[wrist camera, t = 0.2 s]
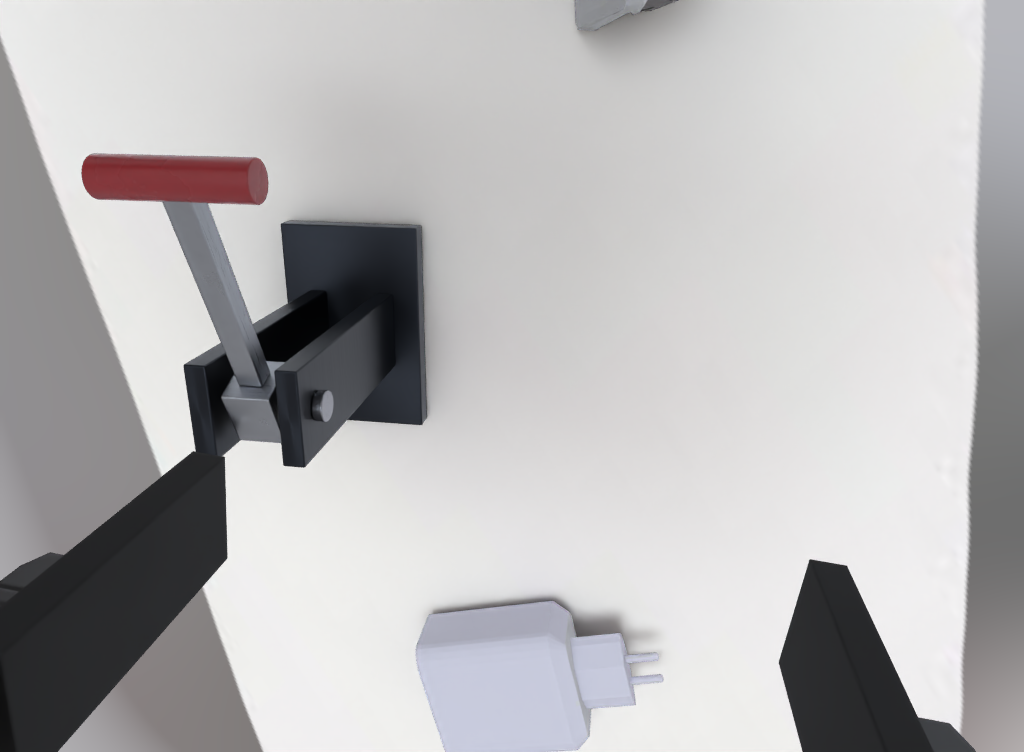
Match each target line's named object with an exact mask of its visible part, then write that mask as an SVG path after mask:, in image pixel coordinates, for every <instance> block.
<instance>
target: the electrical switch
mask: <svg viewBox="0 0 1024 752" xmlns="http://www.w3.org/2000/svg"><path fill="white" fill-rule="evenodd" d="M675 1H678V0H575V16H576V25H577V29H578V30H598V29H599V28H600V27H602V26H604V25H606V24H608V23H609V22H611V21H613V20H615V19H617V18H619V17H621V16H623V15H625V14H627V13H629V12H632V15H634V14H638V13H639V12H640V11H652V10H654V9H657V8H660V7H662V6H665V5H667V4H670V3H672V2H675Z"/></svg>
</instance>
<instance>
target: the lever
mask: <svg viewBox="0 0 1024 752" xmlns="http://www.w3.org/2000/svg"><path fill="white" fill-rule="evenodd" d="M82 180H83V184H84V186H85V189H86V190H87V192H88V193H89V194H90V195H91V196H92V197H94V198H96V199H100V200H128V201H158V202H163V204H164V207H165V209H166V212H167V214H168V216H169V219H170V221H171V224H172V226H173V228H174V231H175V233H176V236H177V238H178V240H179V243H180V245H181V248H182V250H183V252H184V255H185V257H186V260H187V262H188V264H189V267H190V269H191V272H192V274H193V276H194V279H195V281H196V284H197V286H198V288H199V291H200V293H201V296H202V298H203V300H204V303H205V305H206V308H207V310H208V312H209V315H210V317H211V320H212V322H213V324H214V327H215V329H216V332H217V334H218V336H219V339H220V341H221V344H222V346H223V348H224V351H225V353H226V356H227V358H228V360H229V363H230V365H231V368H232V370H233V372H234V375H233V377H232V378H231V380H230V382H229V383H228V385H227V387H226V389H225V390H224V392H223V394H222V395H221V399H222V401H223V403H224V406H225V408H226V410H227V412H228V415H229V417H230V419H231V421H232V424H233V426H234V428H235V430H236V433H237V435H238V437H239V439H240V440H247V441H260V442H273V443H281V435H280V425H279V415H278V405H277V395H276V385H275V375H274V371H275V370H276V369H277V368H278V367H280V366H281V365H282V364H284V363H285V362H271V361H266V359H265V357H264V354H263V351H262V348H261V346H260V343H259V340H258V338H257V335H256V332H255V330H254V327H253V324H252V321H251V319H250V316H249V313H248V311H247V308H246V305H245V303H244V300H243V297H242V294H241V292H240V289H239V286H238V284H237V281H236V278H235V275H234V273H233V270H232V267H231V265H230V262H229V259H228V257H227V254H226V251H225V248H224V246H223V243H222V240H221V238H220V235H219V232H218V230H217V227H216V224H215V221H214V219H213V216H212V213H211V211H210V208H209V205H208V203H217V204H247V205H260V204H262V203H263V202H264V201H265V199H266V196H267V193H268V175H267V171H266V168H265V165H264V164H263V162H262V161H261V160H260V159H259V158H256V157H217V156H177V155H137V154H97V153H94V154H91V155H89V156H87V157H86V159H85V160H84V162H83V165H82Z"/></svg>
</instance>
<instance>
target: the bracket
mask: <svg viewBox="0 0 1024 752" xmlns="http://www.w3.org/2000/svg"><path fill="white" fill-rule="evenodd" d="M281 233H282V244H283V255H284V266H285V277H286V288H287V299H288V304H286V305H285V306H283V307H281V308H279V309H278V310H276V311H274V312H273V313H271V314H269V315H268V316H266V317H264V318H262V319H261V320H259V321H257V322H256V323H254V324H253V327H254V330H255V332H256V335H257V338H258V340H259V343H260V346H261V348H262V351H263V354H264V357H265V359H266V361H271V362H285V363H284V364H282V365H281V366H280V367H278V368H277V369H276V370H275V371H274V375H275V385H276V395H277V405H278V415H279V425H280V435H281V445H282V455H283V465H284V466H291V467H306V466H307V464H308V463H309V462H310V461H311V460H312V459H313V458H314V457H315V455H316V454H317V453H318V452H319V451H320V450H321V449H322V448H323V446H324V445H325V444H326V443H327V442H328V441H329V440H330V438H331V437H332V436H333V435H334V434H335V433H336V432H337V431H338V429H339V428H340V427H341V426H342V425H343V424H344V423H345V422H346V420H357V421H371V422H385V423H399V424H413V425H422V424H423V423H424V421H425V419H426V418H427V413H426V377H425V341H424V305H423V269H422V232H421V226H420V225H397V224H370V223H342V222H315V221H287V222H284V223H281ZM184 373H185V380H186V387H187V393H188V400H189V407H190V414H191V421H192V428H193V435H194V442H195V449H196V452H199V453H205V454H211V455H216V456H223V455H224V454H225V453H226V452H228V451H229V450H230V449H231V448H232V447H233V446H234V445H236V444H237V443H238V442H239V441H240V439H239V437H238V435H237V433H236V430H235V428H234V426H233V424H232V421H231V419H230V417H229V415H228V412H227V410H226V408H225V406H224V403H223V401H222V399H221V395H222V394H223V392H224V390H225V389H226V387H227V385H228V383H229V382H230V380H231V378H232V377H233V375H234V372H233V370H232V368H231V365H230V363H229V360H228V358H227V356H226V353H225V351H224V348H223V346H222V344H221V343H220V344H218V345H217V346H215V347H213V348H211V349H210V350H208V351H206V352H205V353H203V354H201V355H200V356H198V357H196V358H195V359H193V360H191V361H189V362H188V363H186V364H184Z"/></svg>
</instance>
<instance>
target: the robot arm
mask: <svg viewBox="0 0 1024 752" xmlns="http://www.w3.org/2000/svg"><path fill="white" fill-rule="evenodd" d="M226 559H227V525H226V487H225V457H222V456H216V455H211V454H205V453H199V452H194V451H193V452H192V453H191V454H189V455H188V456H187V457H186V458H184V459H183V460H182V461H181V462H179V463H178V464H177V465H176V466H174V467H173V468H172V469H171V470H169V471H168V472H167V473H166V474H164V475H163V476H162V477H161V478H160V479H158V480H157V481H156V482H155V483H153V484H152V485H151V486H150V487H148V488H147V489H146V490H145V491H143V492H142V493H141V494H140V495H138V496H137V497H136V498H135V499H133V500H132V501H131V502H130V503H128V505H126V506H125V507H123V508H122V509H121V510H120V511H119V512H117V513H116V514H115V515H114V516H112V517H111V518H110V519H109V520H107V521H106V522H105V523H104V524H102V525H101V526H100V527H99V528H97V529H96V530H95V531H94V532H92V533H91V534H90V535H89V536H87V537H86V538H85V539H84V540H82V541H81V542H80V543H79V544H77V545H76V546H75V547H74V548H73V549H71V550H70V551H69V552H68V553H66V554H65V555H60V554H55V553H48V554H46V555H43V556H41V557H39V558H37V559H35V560H32V561H30V562H28V563H25V564H23V565H21V566H19V567H18V568H17V569H15V570H14V571H13V572H12V573H10V574H9V575H8V576H6V577H5V578H4V579H2V580H1V581H0V752H58V751H59V749H60V748H61V747H62V746H63V745H64V744H65V743H66V742H67V740H68V739H69V738H70V737H71V736H72V735H73V734H74V732H75V731H76V730H77V729H78V728H79V727H80V726H81V724H82V723H83V722H84V721H85V720H86V719H87V718H88V716H89V715H90V714H91V713H92V712H93V711H94V710H95V709H96V707H97V706H98V705H99V704H100V703H101V702H102V701H103V699H104V698H105V697H106V696H107V695H108V694H109V693H110V691H111V690H112V689H113V688H114V687H115V686H116V685H117V683H118V682H119V681H120V680H121V679H122V678H123V677H124V675H125V674H126V673H127V672H128V671H129V670H130V669H131V668H132V666H133V665H134V664H135V663H136V662H137V661H138V659H139V658H140V657H141V656H142V655H143V654H144V653H145V651H146V650H147V649H148V648H149V647H150V646H151V645H152V644H153V642H154V641H155V640H156V639H157V638H158V637H159V636H160V634H161V633H162V632H163V631H164V630H165V629H166V628H167V626H168V625H169V624H170V623H171V622H172V620H174V618H175V617H176V616H177V615H178V614H179V613H180V612H181V611H182V609H183V608H184V607H185V606H186V604H187V603H189V601H190V600H191V599H192V598H193V597H194V596H195V595H196V593H197V592H198V591H199V590H200V589H201V588H202V587H203V585H204V584H205V583H206V582H207V581H208V580H209V579H210V578H211V576H212V575H213V574H214V573H215V572H216V571H217V570H218V568H219V567H220V566H221V565H222V564H223V563H224V562H225V560H226ZM779 665H780V669H781V672H782V676H783V680H784V683H785V687H786V691H787V695H788V698H789V702H790V706H791V710H792V713H793V717H794V721H795V725H796V728H797V732H798V736H799V740H800V743H801V747H802V751H803V752H976V751H975V749H974V748H973V747H972V746H971V745H970V744H969V743H968V742H967V741H966V740H965V739H964V738H963V737H962V736H961V735H960V734H959V733H958V732H957V731H956V730H955V729H954V728H953V727H952V725H951V724H950V723H945V722H939V721H934V720H929V719H924V718H918V717H917V714H916V712H915V710H914V708H913V706H912V704H911V702H910V700H909V697H908V695H907V693H906V691H905V689H904V687H903V685H902V683H901V680H900V678H899V676H898V674H897V672H896V670H895V668H894V665H893V663H892V661H891V659H890V657H889V655H888V653H887V651H886V648H885V646H884V644H883V642H882V640H881V638H880V636H879V634H878V631H877V629H876V627H875V625H874V623H873V621H872V619H871V616H870V614H869V612H868V610H867V608H866V606H865V604H864V602H863V599H862V597H861V595H860V593H859V591H858V589H857V587H856V585H855V582H854V580H853V578H852V576H851V574H850V572H849V570H848V568H847V566H845V565H839V564H833V563H828V562H822V561H816V560H811V559H810V560H809V563H808V567H807V570H806V573H805V577H804V580H803V583H802V587H801V590H800V593H799V597H798V600H797V603H796V607H795V610H794V613H793V617H792V620H791V623H790V627H789V630H788V633H787V637H786V640H785V643H784V647H783V650H782V653H781V657H780V660H779Z"/></svg>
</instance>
